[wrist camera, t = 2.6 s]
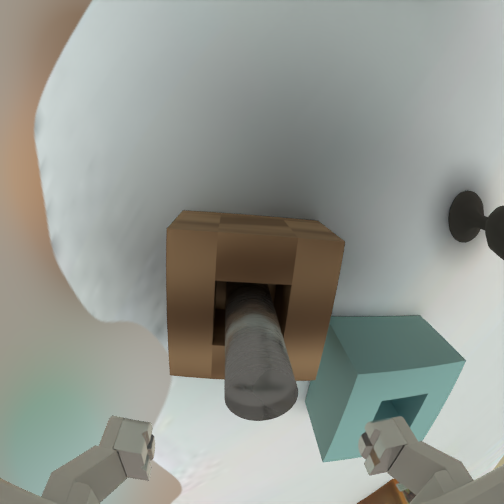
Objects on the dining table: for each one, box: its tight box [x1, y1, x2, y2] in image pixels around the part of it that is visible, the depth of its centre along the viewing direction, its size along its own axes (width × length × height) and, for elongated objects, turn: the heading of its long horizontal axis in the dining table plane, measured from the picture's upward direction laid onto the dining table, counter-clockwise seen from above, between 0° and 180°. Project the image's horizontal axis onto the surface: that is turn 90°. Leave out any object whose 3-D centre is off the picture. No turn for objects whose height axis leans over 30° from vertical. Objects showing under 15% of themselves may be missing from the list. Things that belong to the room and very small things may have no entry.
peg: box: [225, 281, 298, 421], centre depth 17 cm, size 3×3×12 cm
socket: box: [166, 210, 345, 381], centre depth 21 cm, size 10×10×6 cm
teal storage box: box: [305, 315, 466, 462], centre depth 24 cm, size 10×10×8 cm
